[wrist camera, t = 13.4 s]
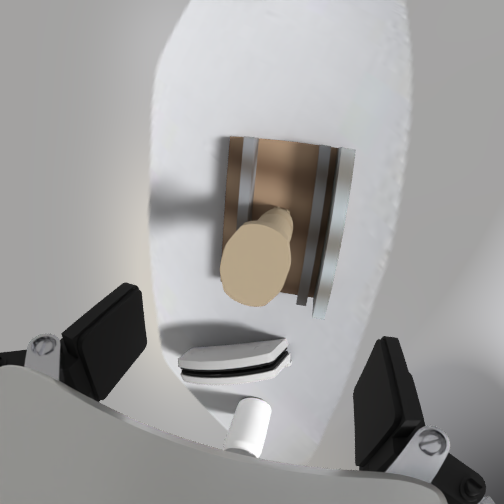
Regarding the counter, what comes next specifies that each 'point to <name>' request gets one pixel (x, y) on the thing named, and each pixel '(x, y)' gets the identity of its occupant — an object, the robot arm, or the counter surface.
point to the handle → (258, 258)
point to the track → (293, 205)
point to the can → (248, 427)
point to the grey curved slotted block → (235, 362)
